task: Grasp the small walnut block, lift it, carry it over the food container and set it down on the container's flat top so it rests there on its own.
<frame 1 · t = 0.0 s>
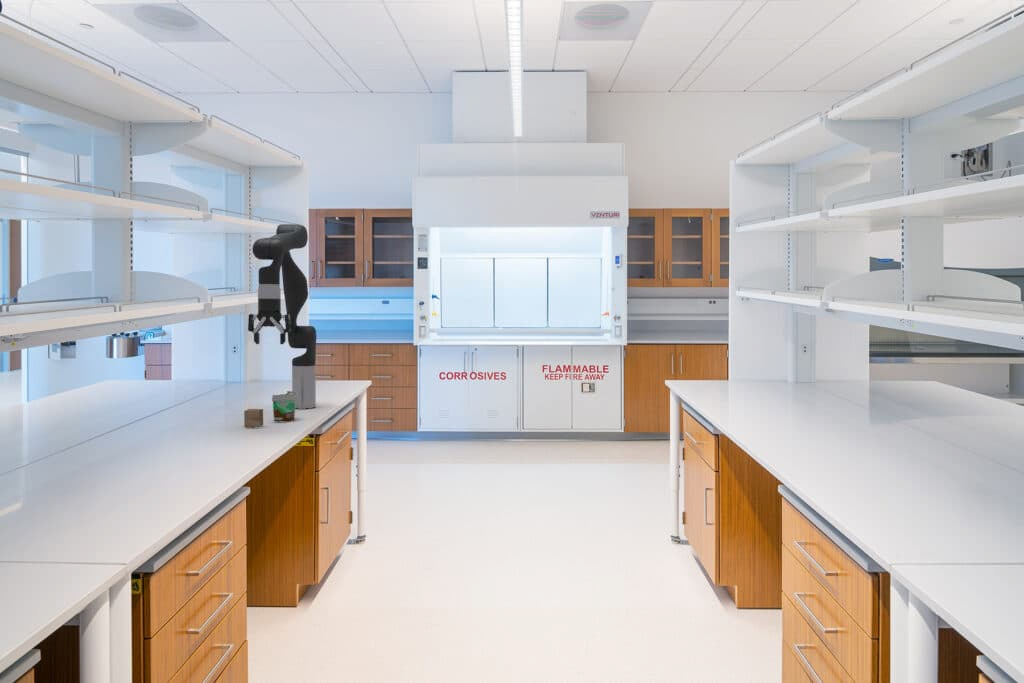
hand: (269, 344, 274), 29 cm above the worktop, tool pointing down, fingers open, 8 cm apart
food container: (288, 420, 291), on the worktop
walnut block: (253, 426, 277), on the worktop
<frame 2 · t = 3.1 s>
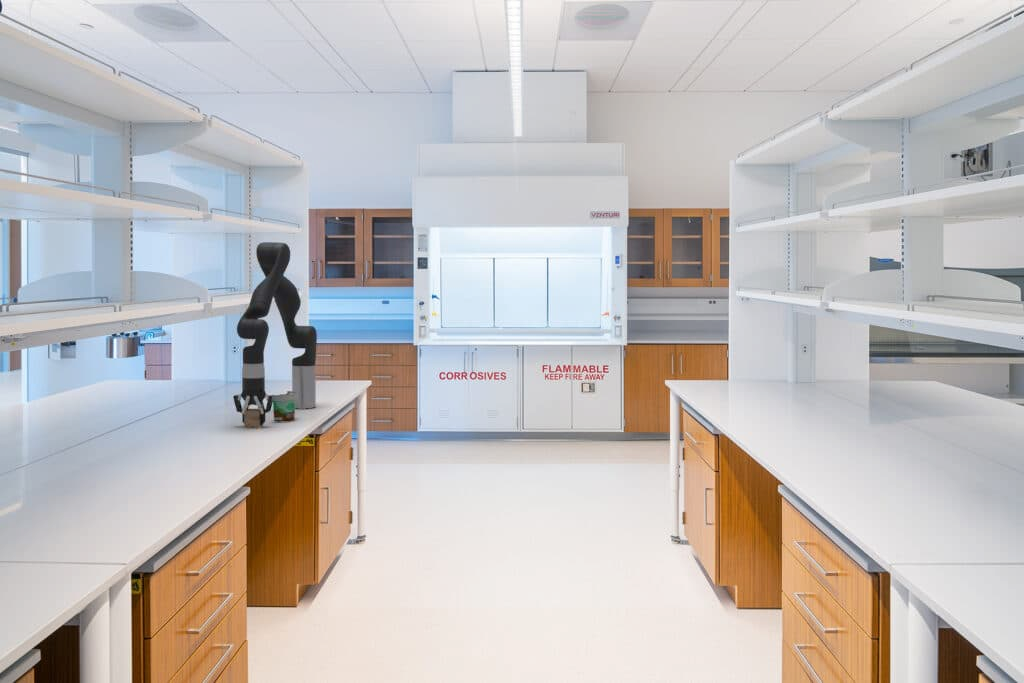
hand: (253, 423, 277), 1 cm above the worktop, tool pointing down, fingers closed on walnut block, 5 cm apart
walnut block: (254, 426, 277), on the worktop, touching gripper
everything else where it was.
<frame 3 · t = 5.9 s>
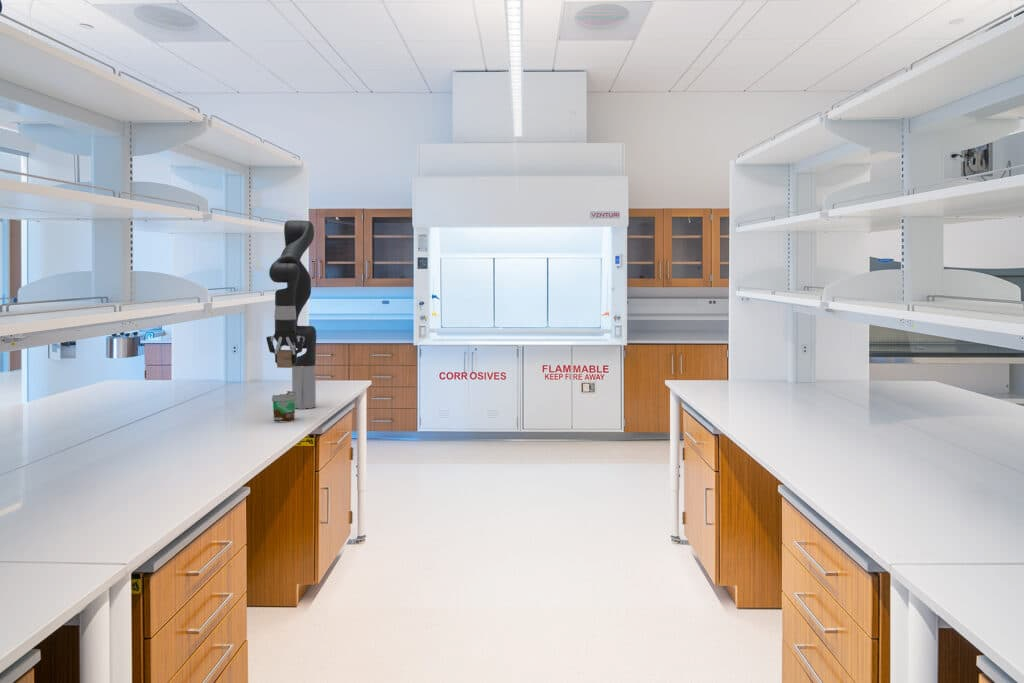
hand: (286, 364, 289), 21 cm above the worktop, tool pointing down, fingers closed on walnut block, 5 cm apart
walnut block: (286, 366, 289), point 20 cm above the worktop, touching gripper
everything else where it was.
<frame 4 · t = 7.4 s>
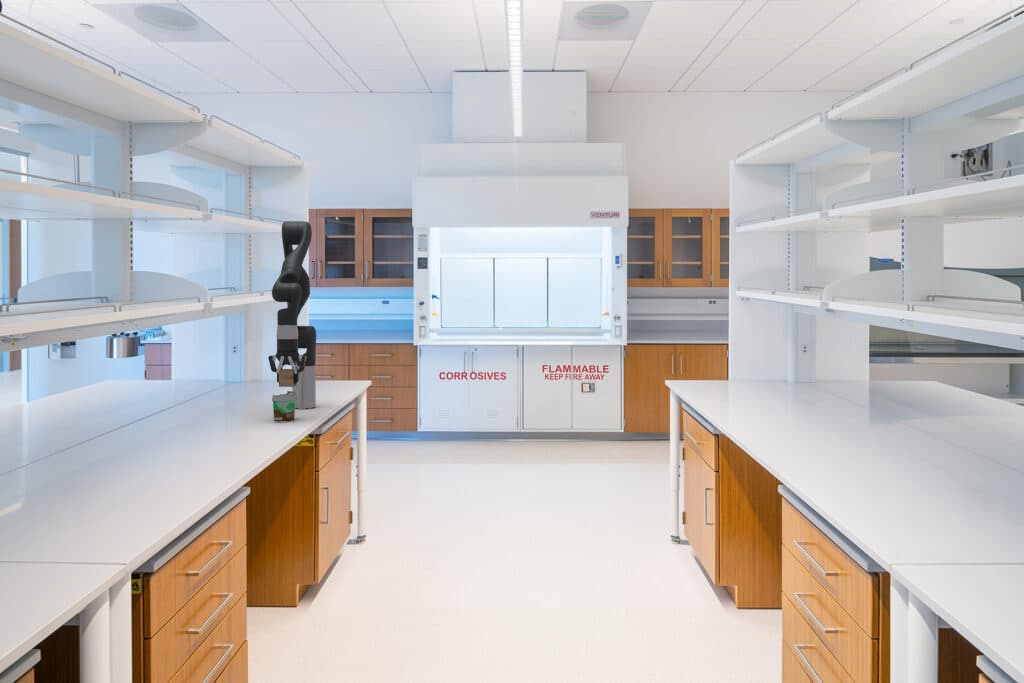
hand: (287, 383, 290), 14 cm above the worktop, tool pointing down, fingers closed on walnut block, 5 cm apart
walnut block: (287, 386, 290), point 13 cm above the worktop, touching gripper
everything else where it was.
when the fingers open (12 cm above the worktop, at t = 8.5 s): walnut block drops 1 cm, resting on food container.
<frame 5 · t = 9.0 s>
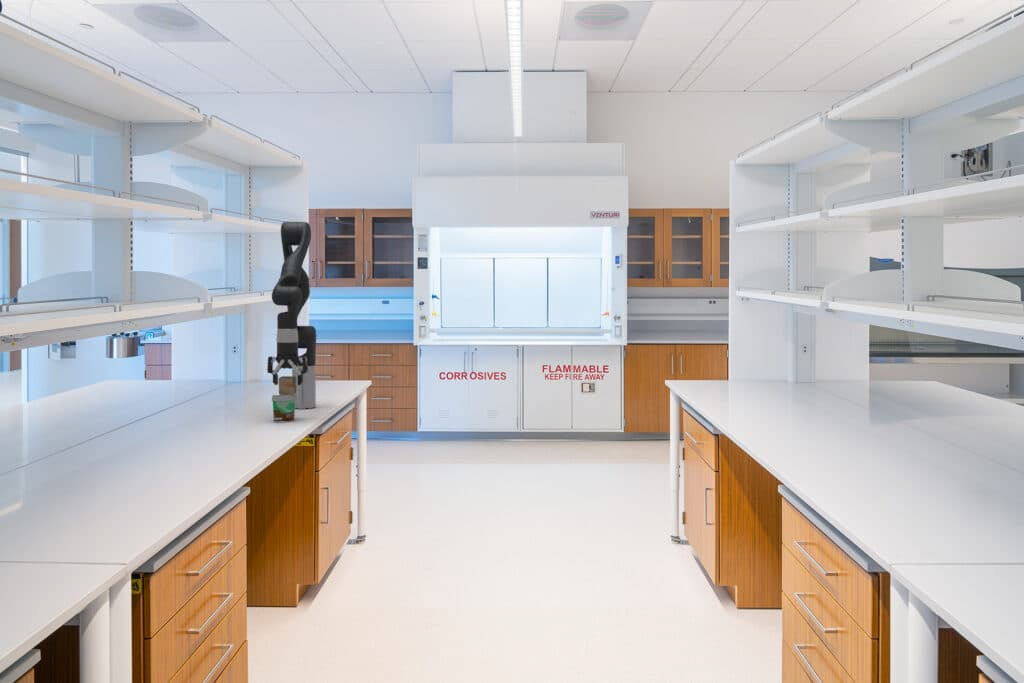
hand: (287, 384, 290), 13 cm above the worktop, tool pointing down, fingers open, 8 cm apart
food container: (287, 420, 291), on the worktop, touching walnut block
walnut block: (287, 393, 290), point 10 cm above the worktop, touching food container
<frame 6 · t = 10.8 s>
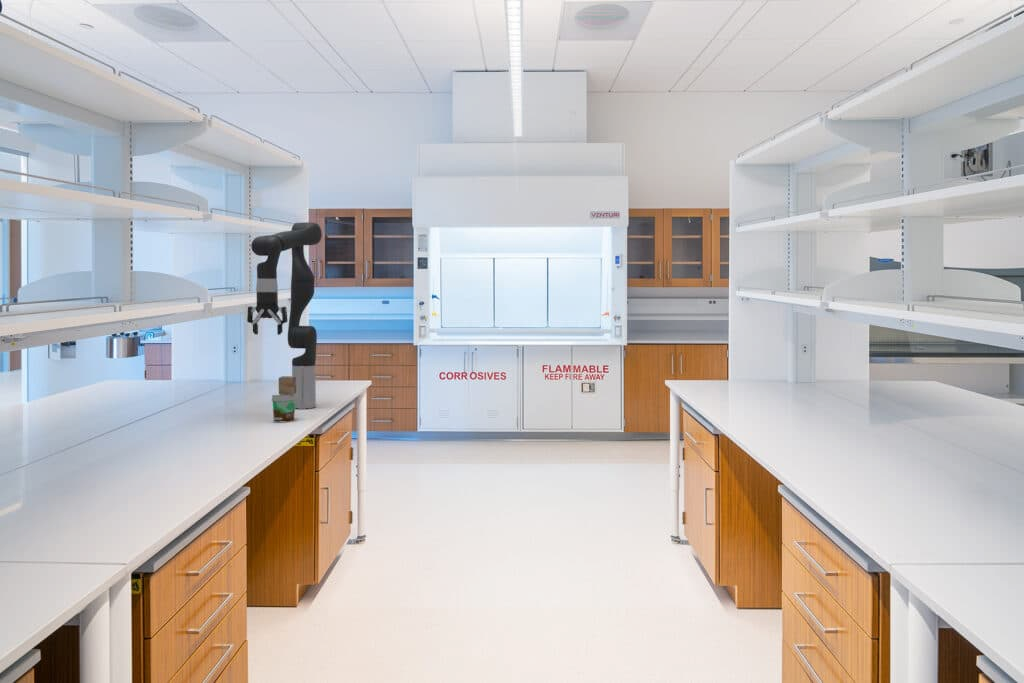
hand: (267, 334, 294), 31 cm above the worktop, tool pointing down, fingers open, 8 cm apart
nothing on the worktop moved.
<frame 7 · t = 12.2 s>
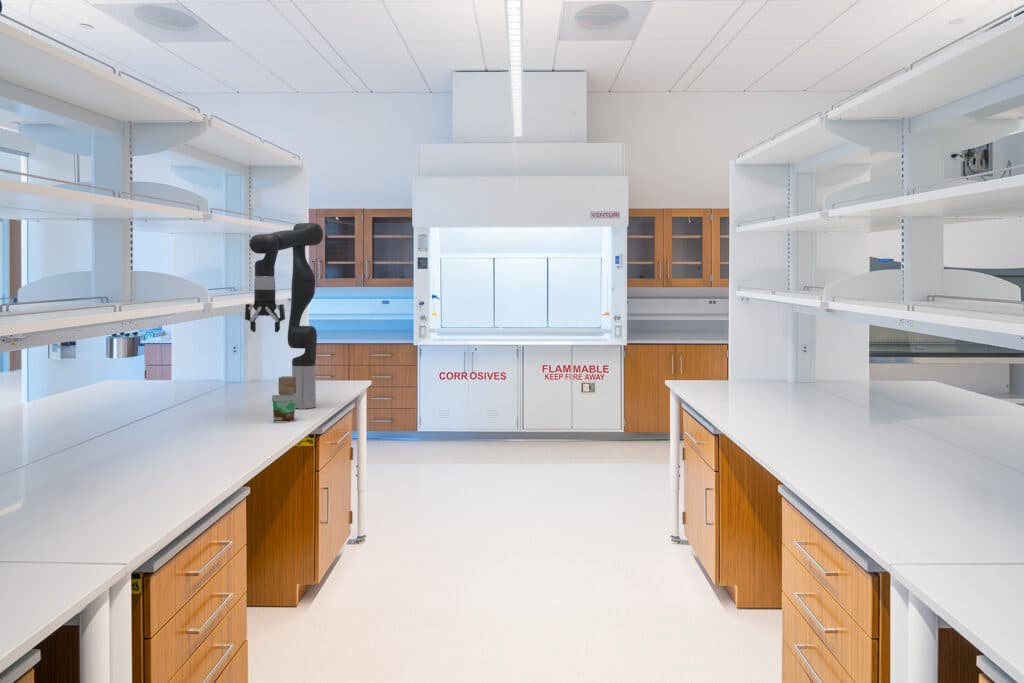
hand: (265, 332, 294), 32 cm above the worktop, tool pointing down, fingers open, 8 cm apart
nothing on the worktop moved.
at the end: walnut block inside the target area on the food container (0.1 cm from its centre), point 10.2 cm above the food container's base; walnut block tilted 0°; the gripper is holding nothing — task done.
